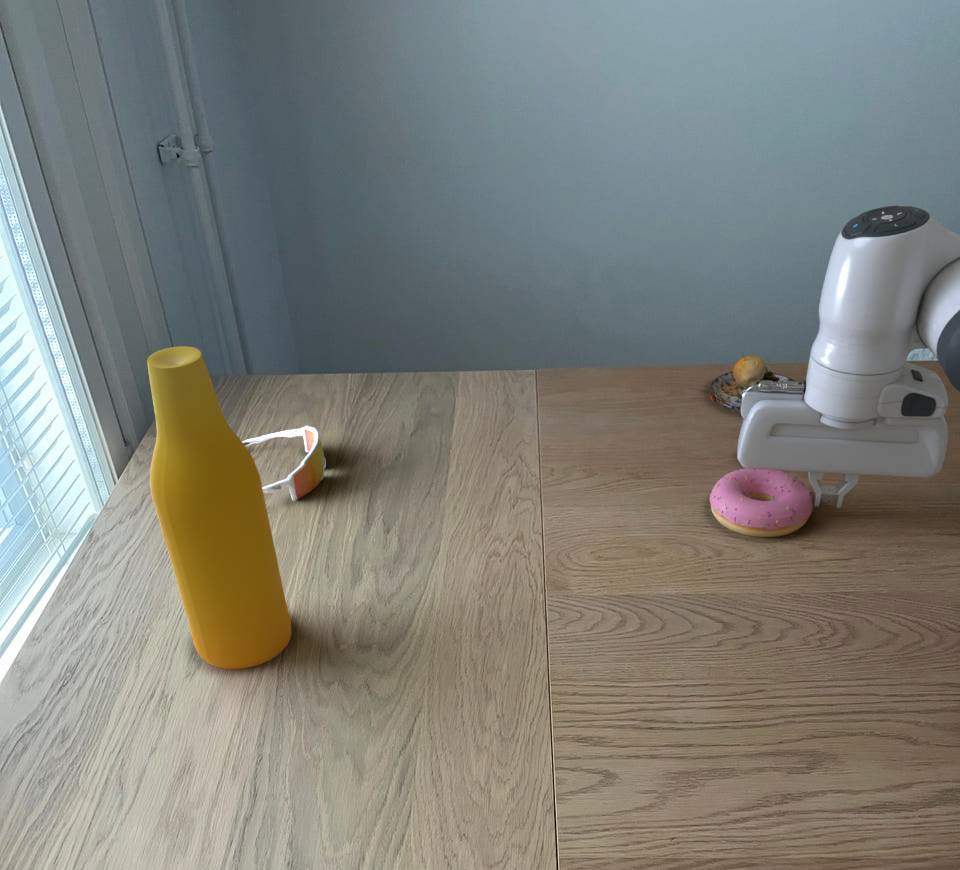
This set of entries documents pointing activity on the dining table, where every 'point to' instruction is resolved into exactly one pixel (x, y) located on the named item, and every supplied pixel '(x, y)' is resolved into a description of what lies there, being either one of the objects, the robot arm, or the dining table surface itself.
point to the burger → (741, 381)
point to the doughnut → (761, 502)
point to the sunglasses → (310, 467)
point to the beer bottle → (213, 519)
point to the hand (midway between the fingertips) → (826, 504)
